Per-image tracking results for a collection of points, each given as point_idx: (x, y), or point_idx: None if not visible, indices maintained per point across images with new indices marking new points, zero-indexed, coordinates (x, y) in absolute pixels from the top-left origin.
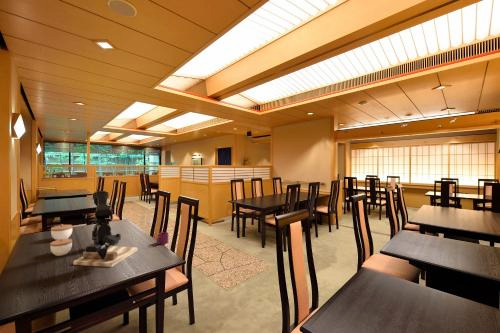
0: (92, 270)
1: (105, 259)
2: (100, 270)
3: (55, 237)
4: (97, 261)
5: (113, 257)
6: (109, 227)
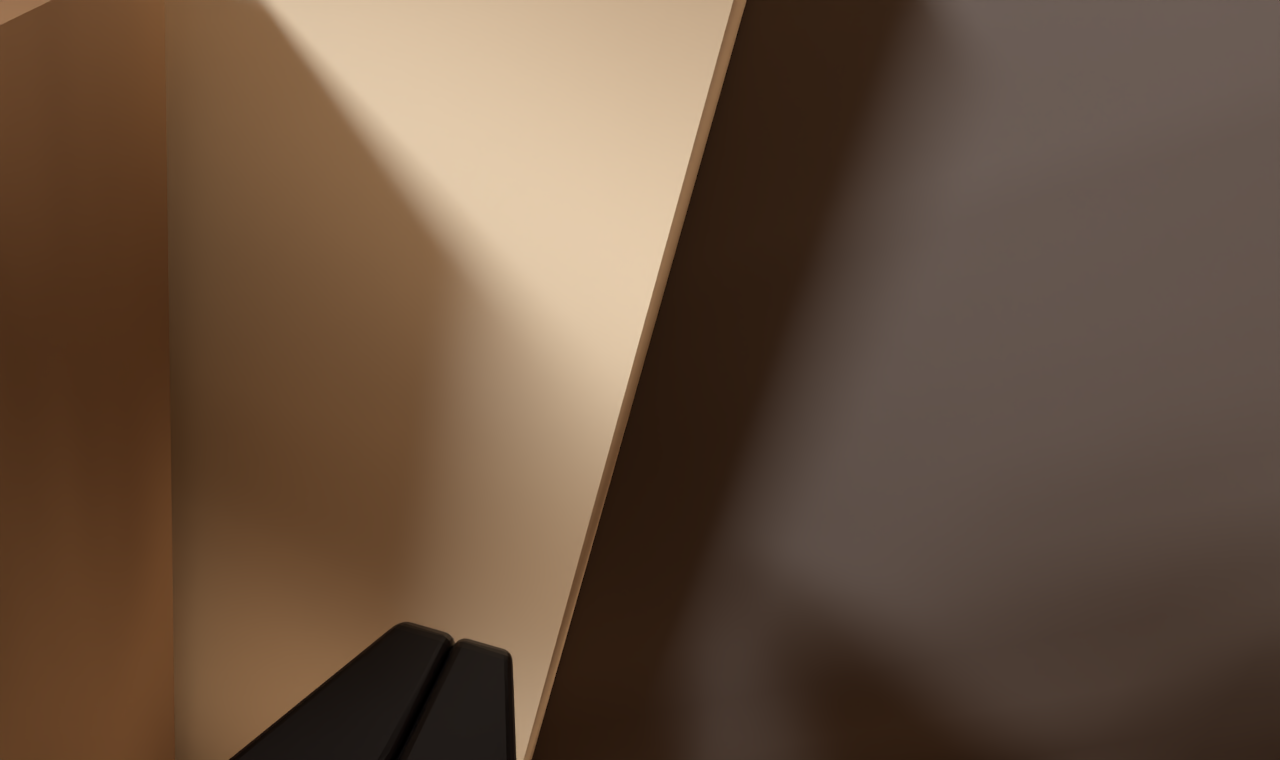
0: (1057, 646)
1: None
2: (1209, 310)
3: None
4: None
5: (56, 12)
6: None
